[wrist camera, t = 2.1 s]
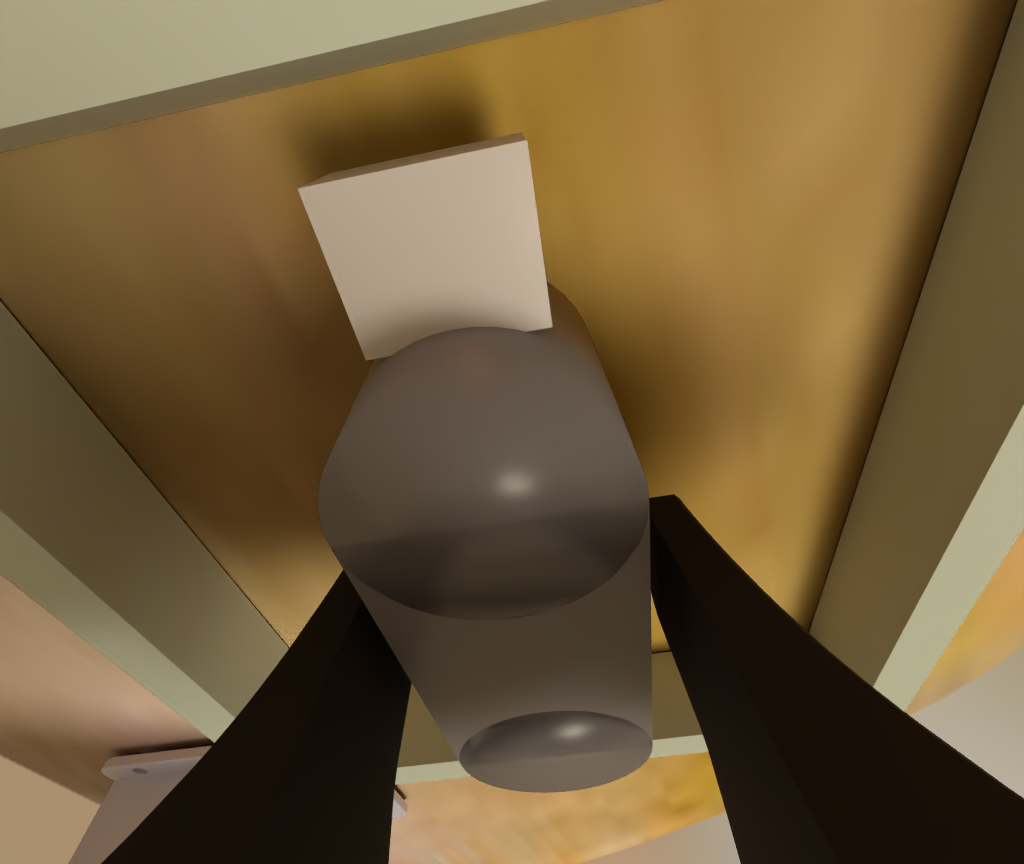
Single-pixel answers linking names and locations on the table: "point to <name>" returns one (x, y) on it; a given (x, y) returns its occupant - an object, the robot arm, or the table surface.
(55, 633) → the table surface
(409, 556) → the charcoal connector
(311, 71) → the sage frame
